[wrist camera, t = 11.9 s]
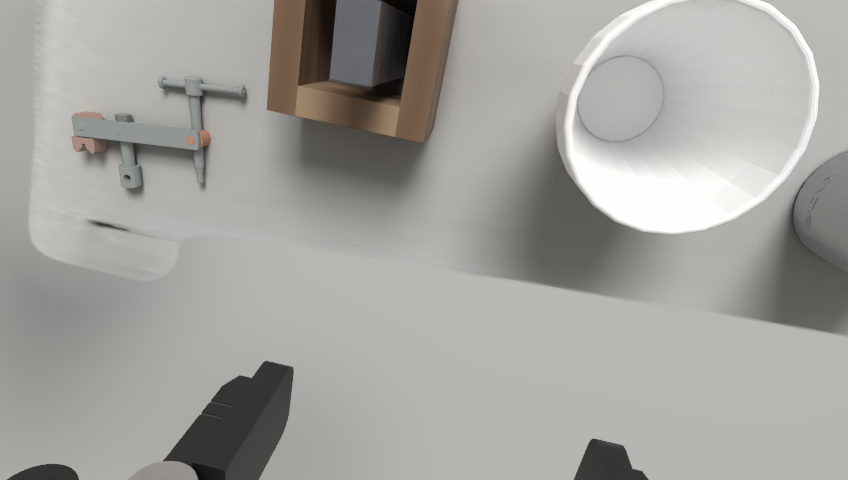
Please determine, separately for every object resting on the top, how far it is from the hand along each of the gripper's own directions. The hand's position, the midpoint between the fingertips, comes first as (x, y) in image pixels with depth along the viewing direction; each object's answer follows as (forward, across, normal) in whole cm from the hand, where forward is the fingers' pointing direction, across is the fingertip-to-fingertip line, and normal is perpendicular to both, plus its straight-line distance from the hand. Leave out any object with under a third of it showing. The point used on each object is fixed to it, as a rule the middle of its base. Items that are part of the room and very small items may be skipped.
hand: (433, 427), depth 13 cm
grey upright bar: (+30, +9, -9) cm, 32 cm away
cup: (+30, -10, -8) cm, 33 cm away
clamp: (+31, +26, +2) cm, 40 cm away
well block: (+30, +9, -8) cm, 32 cm away
